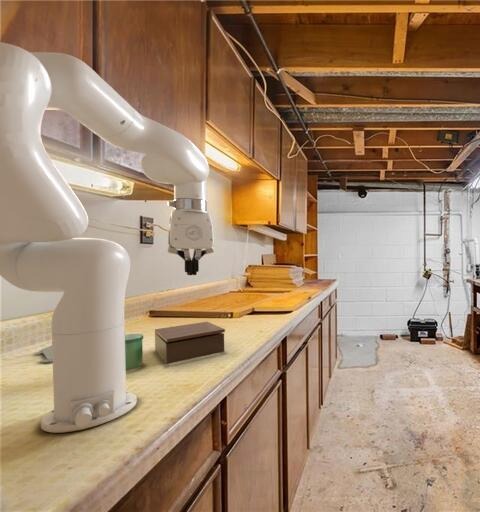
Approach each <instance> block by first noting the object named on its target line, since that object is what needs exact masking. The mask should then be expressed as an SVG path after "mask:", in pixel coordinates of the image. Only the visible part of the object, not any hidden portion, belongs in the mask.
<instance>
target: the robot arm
mask: <svg viewBox="0 0 480 512" xmlns="http://www.w3.org/2000/svg"><path fill="white" fill-rule="evenodd" d="M55 110H56V111H61V112H64V113H65V114H67V115H68V116H70V117H72V118H73V119H74V120H75V121H77V122H78V123H80V124H81V125H83V126H84V127H85V128H87V129H88V130H89V131H91V132H92V133H93V134H94V135H96V136H98V137H99V138H100V139H102V140H103V141H104V142H106V143H107V144H109V145H111V146H113V147H116V148H118V149H121V150H126V151H129V152H133V153H138V154H142V155H143V157H142V158H141V161H140V167H141V170H142V172H143V174H144V176H146V178H148V179H150V180H151V181H152V182H155V183H157V184H165V185H172V186H173V200H168V201H167V207H171V208H173V210H172V211H171V213H170V217H169V223H168V233H167V234H168V235H167V243H168V248H167V253H168V254H174V255H178V257H180V258H181V259H182V260H183V261H184V272H185V273H186V276H197V273H199V272H200V270H199V269H200V267H199V265H200V260H201V259H202V258H203V257H204V256H205V255H209V254H213V253H214V252H215V251H214V246H215V235H214V234H215V233H214V225H213V220H212V215H211V213H210V212H208V195H207V193H208V190H207V188H208V185H207V184H208V183H207V179H208V178H209V175H210V165H209V163H208V160H207V158H206V156H205V155H204V153H202V151H201V150H200V149H199V148H198V147H197V146H196V144H194V142H192V140H190V139H189V138H188V137H186V136H185V135H183V134H182V133H180V132H178V131H176V130H174V129H173V128H170V127H168V126H166V125H164V124H162V123H160V122H158V121H156V120H153V119H151V118H149V117H146V116H145V115H142V114H141V113H139V111H138V110H136V109H135V108H134V106H132V105H131V104H130V103H129V102H128V101H127V100H126V99H124V98H123V97H122V95H120V94H119V93H118V92H117V91H116V90H115V89H114V88H113V87H112V86H111V85H110V84H108V82H107V81H106V80H104V79H103V78H102V77H101V76H100V75H99V74H98V73H97V72H96V71H95V70H94V69H93V68H92V67H90V66H89V65H88V64H87V63H85V61H83V60H81V59H80V58H78V57H76V56H73V55H71V54H67V53H64V52H54V51H30V52H29V51H28V50H26V49H24V48H22V47H21V46H17V45H14V44H11V43H7V42H2V41H0V277H1V278H3V279H4V280H5V281H7V282H8V283H10V284H11V285H12V286H14V287H16V288H18V289H21V290H24V291H30V292H43V293H48V292H49V293H63V294H62V295H61V298H60V300H59V302H58V303H57V305H56V307H55V309H54V310H53V313H52V317H51V325H50V326H51V327H50V329H51V346H52V357H53V361H52V386H53V388H52V389H53V391H52V392H53V409H51V410H50V411H48V412H47V413H46V414H45V415H43V416H42V418H41V419H40V429H41V430H42V431H43V432H48V433H52V434H53V433H55V434H58V433H70V432H77V431H81V430H85V429H90V428H93V427H97V426H99V425H103V424H105V423H108V422H110V421H113V420H115V419H118V418H120V417H122V416H123V415H125V414H126V413H128V412H130V411H132V409H133V408H134V407H135V406H136V405H137V402H138V398H137V397H138V396H137V395H136V394H135V393H133V392H131V391H127V370H126V364H125V335H126V329H125V327H126V326H125V325H126V323H125V304H126V303H125V301H126V290H127V287H128V286H127V285H128V281H129V277H130V272H131V258H130V255H129V253H128V251H127V250H126V248H125V247H124V246H122V245H120V244H118V243H117V242H116V241H112V240H109V239H104V238H96V237H79V236H81V235H82V234H83V233H85V231H86V230H87V228H88V226H89V216H88V214H87V211H86V209H85V207H84V205H83V204H82V202H81V200H80V199H79V197H78V196H77V195H76V193H75V192H74V190H73V189H72V188H71V186H70V185H69V183H68V182H67V181H66V179H65V177H64V175H62V173H61V172H60V171H59V169H58V168H57V166H56V164H55V163H54V162H53V160H52V158H51V157H50V155H49V153H48V152H47V150H46V149H45V146H44V143H43V139H42V131H41V130H42V121H43V118H44V114H45V111H55ZM190 250H193V253H192V257H191V253H190Z"/></svg>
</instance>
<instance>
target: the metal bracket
mask: <svg viewBox="0 0 480 512" xmlns="http://www.w3.org/2000/svg"><path fill="white" fill-rule="evenodd" d="M41 354H42V355H43V357H44V358H45V359H42V360H40V363H42V364H43V363H50V362H53V357H52V345H49V346H46V347H43V348H41V349H40V350H39V351H38V352H37V353H35V355H36V356H39V355H41Z"/></svg>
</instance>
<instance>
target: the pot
mask: <svg viewBox="0 0 480 512" xmlns="http://www.w3.org/2000/svg"><path fill="white" fill-rule="evenodd" d="M143 339H144V334H142V333H128V334H125V364H126V371H128V370H132V369H137V368H139V367H141V366H142V365H144V351H143V349H144V348H143V347H144V346H143Z"/></svg>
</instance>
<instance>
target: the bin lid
mask: <svg viewBox="0 0 480 512" xmlns="http://www.w3.org/2000/svg"><path fill="white" fill-rule="evenodd" d="M155 332H156V333H157V334H158V335H159V336H160V337H161V338H163V339H164V340H165V341H166V342H171V341H177V340H183V339H188V338H194V337H200V336H205V335H211V334H216V333H225V332H226V329H225V328H223V327H221V326H218V325H216V324H214V323H212V322H210V321H202V322H193V323H189V324H188V323H187V324H182V325H181V324H180V325H174V326H168V327H161V328H155V329H154V333H155Z"/></svg>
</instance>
